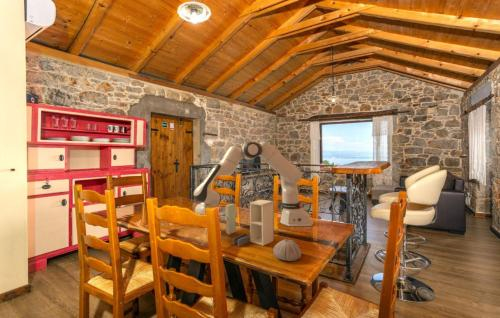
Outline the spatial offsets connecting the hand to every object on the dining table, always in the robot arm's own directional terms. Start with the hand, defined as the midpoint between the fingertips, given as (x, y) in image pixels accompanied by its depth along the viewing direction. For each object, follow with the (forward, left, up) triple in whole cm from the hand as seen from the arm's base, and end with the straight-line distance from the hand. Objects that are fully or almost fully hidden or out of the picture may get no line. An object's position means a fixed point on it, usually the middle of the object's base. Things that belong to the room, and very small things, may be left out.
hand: (231, 217), depth 143 cm
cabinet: (-13, +3, -13) cm, 18 cm away
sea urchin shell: (-32, +19, -13) cm, 39 cm away
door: (+1, 0, -9) cm, 9 cm away
